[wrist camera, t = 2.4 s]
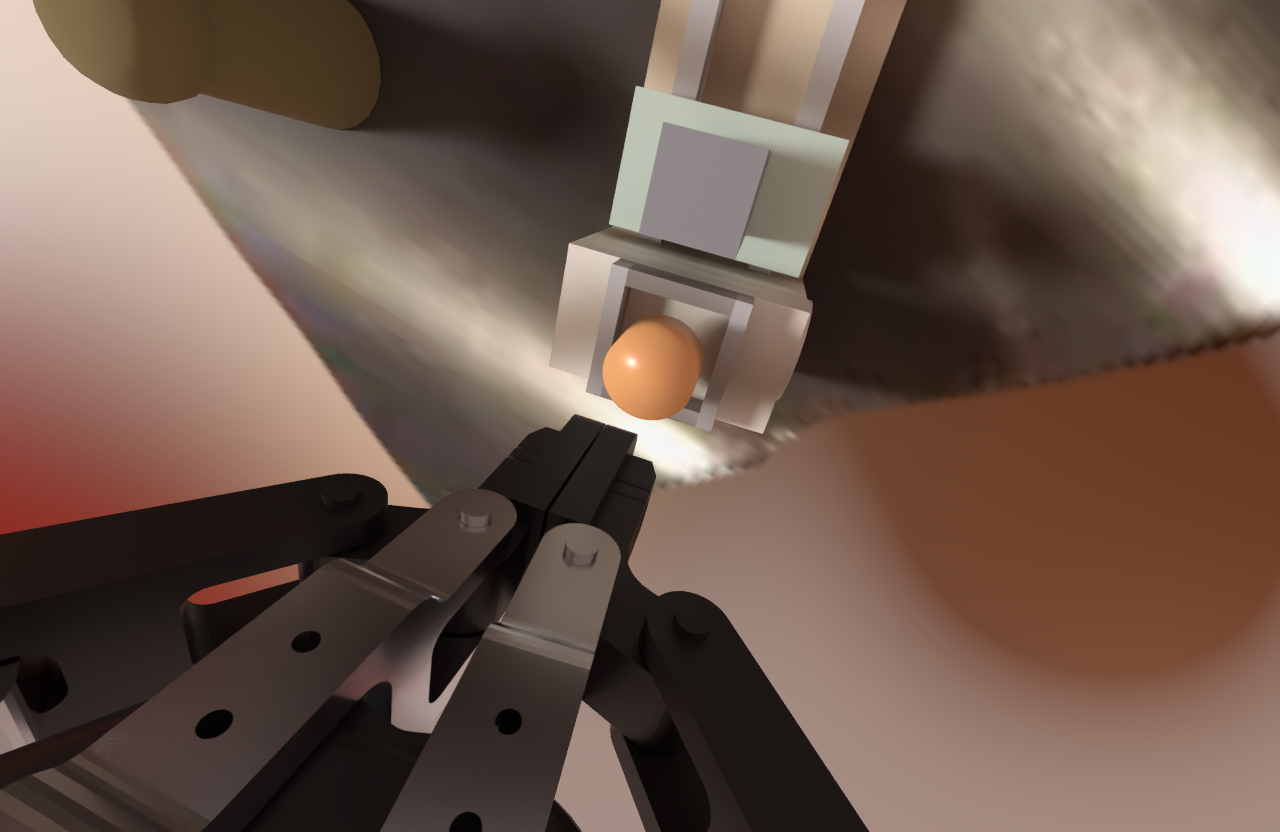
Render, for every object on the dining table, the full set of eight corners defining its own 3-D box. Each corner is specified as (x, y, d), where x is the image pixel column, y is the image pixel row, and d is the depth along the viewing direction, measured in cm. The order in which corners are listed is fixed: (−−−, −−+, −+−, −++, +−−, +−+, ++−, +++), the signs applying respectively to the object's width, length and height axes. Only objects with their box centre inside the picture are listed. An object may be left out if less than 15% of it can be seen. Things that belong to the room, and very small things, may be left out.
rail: (755, -411, 17) (736, -914, 9) (1057, -364, 16) (1331, -880, 8) (604, 316, 29) (537, 376, 21) (776, 368, 28) (776, 452, 20)
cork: (398, 40, 25) (166, -36, 16) (357, 155, 28) (139, 151, 19) (291, -46, 25) (-17, -178, 15) (260, 80, 28) (-16, 36, 18)
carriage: (644, 90, 21) (584, 57, 14) (844, 141, 20) (877, 131, 14) (618, 220, 23) (556, 243, 17) (797, 271, 23) (805, 315, 16)
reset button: (629, 303, 18) (612, 318, 16) (714, 329, 18) (707, 347, 16) (611, 382, 20) (594, 403, 18) (689, 407, 19) (681, 431, 17)
